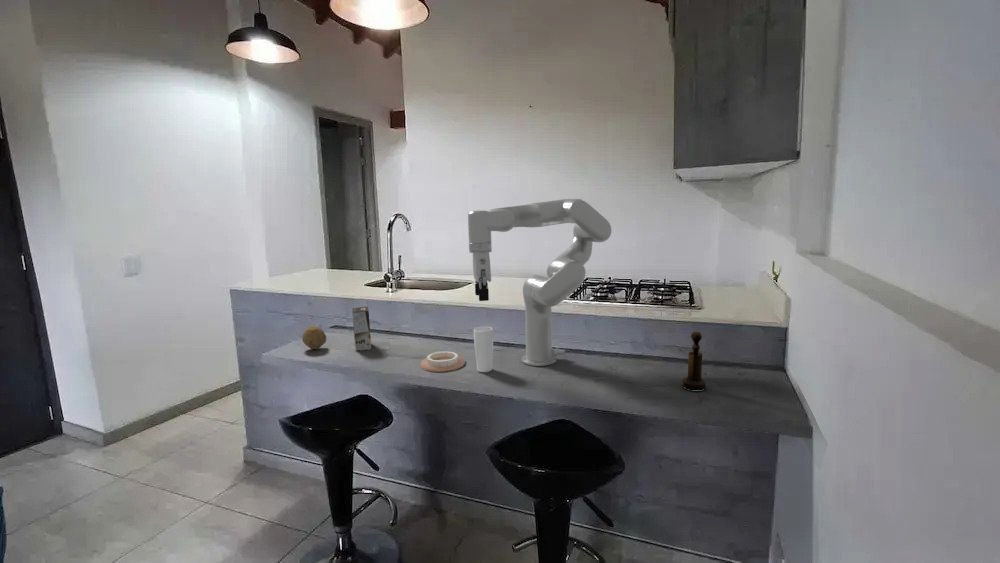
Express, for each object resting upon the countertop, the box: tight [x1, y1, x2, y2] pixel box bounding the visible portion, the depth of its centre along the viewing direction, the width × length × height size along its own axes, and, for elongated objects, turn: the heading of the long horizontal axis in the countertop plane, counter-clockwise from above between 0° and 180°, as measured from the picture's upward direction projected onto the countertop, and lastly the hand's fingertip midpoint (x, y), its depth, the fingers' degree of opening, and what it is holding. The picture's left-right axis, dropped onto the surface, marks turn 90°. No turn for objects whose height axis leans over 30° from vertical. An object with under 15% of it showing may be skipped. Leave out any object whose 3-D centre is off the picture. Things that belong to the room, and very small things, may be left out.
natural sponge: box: [302, 325, 327, 350], centre depth 197 cm, size 9×9×10 cm
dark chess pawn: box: [682, 330, 707, 390], centre depth 148 cm, size 7×6×18 cm
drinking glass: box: [473, 326, 494, 373], centre depth 168 cm, size 7×7×15 cm
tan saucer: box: [420, 351, 466, 373], centre depth 176 cm, size 16×16×3 cm
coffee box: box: [352, 306, 372, 351], centre depth 198 cm, size 9×6×16 cm
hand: (481, 297), depth 164 cm, fingers open, 9 cm apart
